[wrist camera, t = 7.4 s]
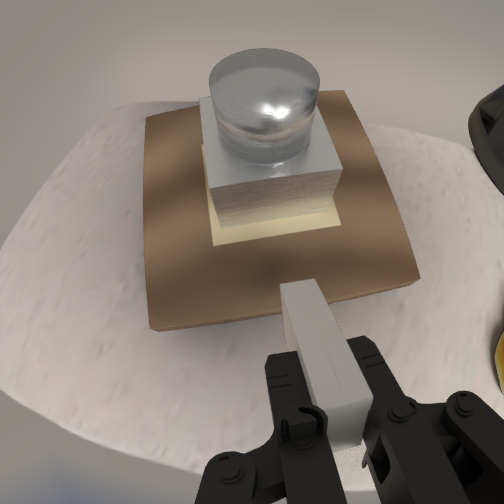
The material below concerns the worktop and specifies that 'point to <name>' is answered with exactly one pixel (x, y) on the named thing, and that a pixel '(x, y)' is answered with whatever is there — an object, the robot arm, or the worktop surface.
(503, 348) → the bread roll
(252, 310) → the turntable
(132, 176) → the worktop surface
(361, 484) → the worktop surface
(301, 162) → the metal block with knob
